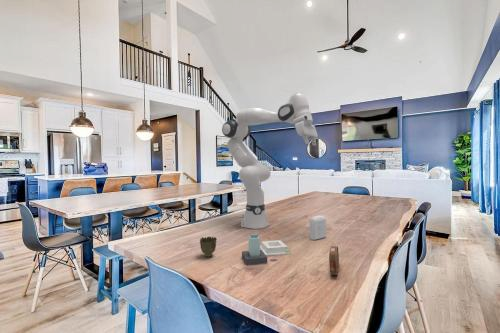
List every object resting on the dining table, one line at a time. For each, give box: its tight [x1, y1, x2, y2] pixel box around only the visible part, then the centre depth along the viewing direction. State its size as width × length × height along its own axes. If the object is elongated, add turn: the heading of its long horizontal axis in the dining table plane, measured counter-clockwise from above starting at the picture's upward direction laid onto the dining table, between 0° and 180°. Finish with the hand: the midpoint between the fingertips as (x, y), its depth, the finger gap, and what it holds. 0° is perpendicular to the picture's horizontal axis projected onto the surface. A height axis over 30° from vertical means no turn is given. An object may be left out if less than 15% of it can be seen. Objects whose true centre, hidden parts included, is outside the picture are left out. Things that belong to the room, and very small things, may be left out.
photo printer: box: [308, 214, 327, 241], centre depth 141 cm, size 10×4×12 cm, turn 123°
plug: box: [248, 233, 261, 257], centre depth 111 cm, size 4×4×11 cm
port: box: [260, 239, 292, 257], centre depth 123 cm, size 12×12×3 cm
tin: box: [328, 245, 340, 276], centre depth 101 cm, size 15×3×8 cm, turn 158°
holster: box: [241, 249, 268, 266], centre depth 111 cm, size 9×9×2 cm
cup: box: [199, 236, 218, 258], centre depth 116 cm, size 8×7×8 cm
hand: (311, 144), depth 140 cm, fingers open, 8 cm apart
